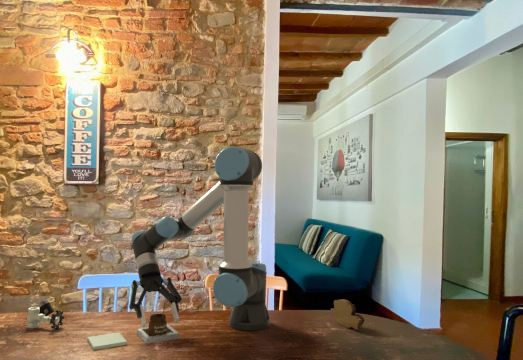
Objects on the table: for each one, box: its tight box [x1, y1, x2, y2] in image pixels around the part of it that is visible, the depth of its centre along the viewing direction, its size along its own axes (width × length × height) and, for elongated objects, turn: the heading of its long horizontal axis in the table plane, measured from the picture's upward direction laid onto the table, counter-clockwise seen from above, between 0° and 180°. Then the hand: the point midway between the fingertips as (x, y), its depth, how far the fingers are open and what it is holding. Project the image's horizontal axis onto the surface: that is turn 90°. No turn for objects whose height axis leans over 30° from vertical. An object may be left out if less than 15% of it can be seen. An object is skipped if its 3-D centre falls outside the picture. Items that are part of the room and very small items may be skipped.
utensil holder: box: [147, 298, 169, 337], centre depth 143 cm, size 6×6×12 cm
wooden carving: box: [330, 298, 365, 331], centre depth 159 cm, size 16×5×10 cm, turn 34°
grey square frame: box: [136, 324, 180, 345], centre depth 143 cm, size 11×11×2 cm
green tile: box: [87, 331, 128, 351], centre depth 136 cm, size 10×10×1 cm
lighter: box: [38, 300, 55, 316], centre depth 161 cm, size 9×2×6 cm
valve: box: [26, 306, 65, 330], centre depth 150 cm, size 7×7×12 cm
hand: (161, 323), depth 141 cm, fingers open, 10 cm apart
